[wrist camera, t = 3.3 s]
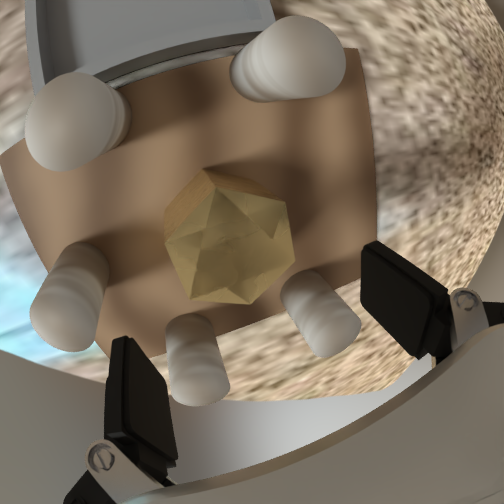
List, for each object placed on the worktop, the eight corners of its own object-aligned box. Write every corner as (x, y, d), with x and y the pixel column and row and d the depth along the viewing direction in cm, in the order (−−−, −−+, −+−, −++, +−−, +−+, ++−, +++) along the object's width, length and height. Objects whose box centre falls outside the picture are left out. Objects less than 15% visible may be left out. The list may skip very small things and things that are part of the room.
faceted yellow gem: (155, 184, 15) (150, 209, 11) (248, 154, 16) (278, 168, 12) (190, 275, 19) (200, 322, 15) (269, 247, 20) (299, 285, 16)
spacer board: (347, 45, 15) (416, 31, 9) (367, 268, 26) (414, 309, 20) (4, 148, 11) (-58, 170, 5) (120, 360, 22) (118, 425, 16)
